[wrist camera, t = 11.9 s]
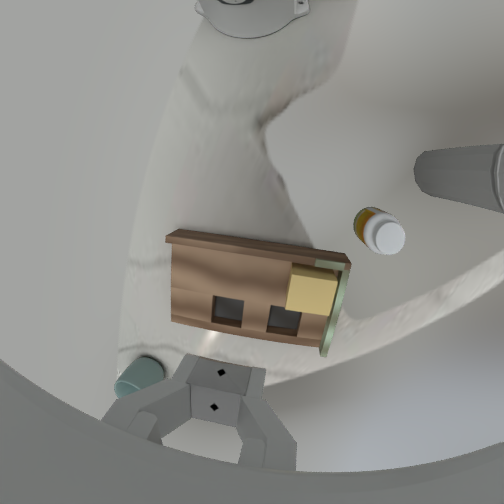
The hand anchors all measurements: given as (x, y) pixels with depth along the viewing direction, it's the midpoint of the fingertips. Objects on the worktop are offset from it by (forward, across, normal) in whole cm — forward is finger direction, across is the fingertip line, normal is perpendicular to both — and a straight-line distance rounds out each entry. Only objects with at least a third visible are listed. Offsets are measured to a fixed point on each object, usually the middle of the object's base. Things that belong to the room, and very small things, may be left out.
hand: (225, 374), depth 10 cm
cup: (+33, +21, +33) cm, 51 cm away
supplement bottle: (+33, -14, -2) cm, 36 cm away
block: (+30, -6, +8) cm, 32 cm away
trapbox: (+33, +2, +11) cm, 35 cm away
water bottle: (+33, -24, -12) cm, 43 cm away
